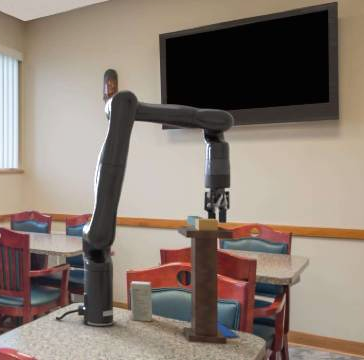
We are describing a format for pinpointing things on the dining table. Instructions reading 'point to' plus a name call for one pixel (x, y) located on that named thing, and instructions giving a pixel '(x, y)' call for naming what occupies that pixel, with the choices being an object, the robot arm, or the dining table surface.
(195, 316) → the shelf stand
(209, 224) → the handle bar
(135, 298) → the cosmetic box
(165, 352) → the dining table surface
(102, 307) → the robot arm
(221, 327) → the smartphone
